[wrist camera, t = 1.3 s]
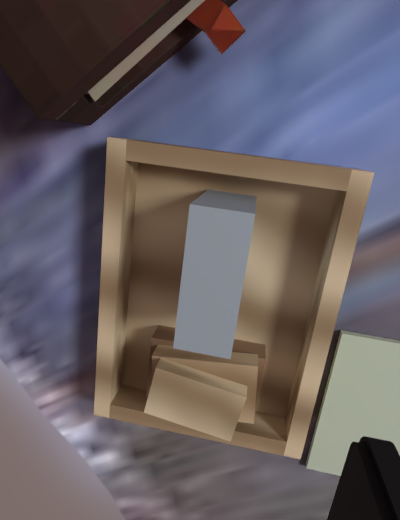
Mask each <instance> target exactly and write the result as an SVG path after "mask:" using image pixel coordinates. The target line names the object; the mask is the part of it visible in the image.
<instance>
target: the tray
mask: <svg viewBox="0 0 400 520" xmlns="http://www.w3.org/2000/svg"><path fill="white" fill-rule="evenodd" d="M373 176H374V172H369V171H365V170H359V169H352V168H344V167H337V166H329V165H322V164H314V163H307V162H299V161H292V160H284V159H277V158H269V157H262V156H254V155H247V154H239V153H232V152H224V151H217V150H209V149H201V148H194V147H186V146H179V145H171V144H164V143H156V142H149V141H141V140H134V139H126V138H114V137H107V153H106V174H105V195H104V215H103V236H102V257H101V277H100V298H99V318H98V339H97V360H96V380H95V401H94V415H98V416H102V417H107V418H112V419H116V420H121V421H126V422H130V423H135V424H139V425H144V426H149V427H153V428H158V429H162V430H167V431H172V432H176V433H181V434H186V435H190V436H195V437H199V438H204V439H209V440H213V441H218V442H222V443H227V444H232V445H236V446H241V447H246V448H250V449H255V450H259V451H264V452H269V453H273V454H278V455H283V456H287V457H292V458H296V459H301V456H302V452H303V449H304V445H305V441H306V437H307V433H308V429H309V425H310V421H311V417H312V414H313V410H314V406H315V402H316V398H317V394H318V390H319V386H320V382H321V378H322V375H323V371H324V367H325V363H326V359H327V355H328V351H329V347H330V343H331V340H332V336H333V332H334V328H335V324H336V320H337V316H338V312H339V308H340V304H341V301H342V297H343V293H344V289H345V285H346V281H347V277H348V273H349V269H350V265H351V262H352V258H353V254H354V250H355V246H356V242H357V238H358V234H359V230H360V227H361V223H362V219H363V215H364V211H365V207H366V203H367V199H368V195H369V191H370V188H371V184H372V180H373ZM208 189H210V190H217V191H224V192H231V193H238V194H245V195H252V196H257V198H256V212H255V219H254V225H253V231H252V236H251V242H250V248H249V254H248V260H247V266H246V272H245V278H244V284H243V289H242V295H241V301H240V307H239V313H238V319H237V325H236V331H235V337H234V339H238V340H243V341H248V342H254V343H259V344H264V345H265V353H266V360H265V365H264V370H263V375H262V380H261V385H260V390H259V395H258V400H257V405H256V410H255V416H254V424H252V423H243V422H238V423H237V425H236V428H235V431H234V434H233V436H232V439H231V442H230V441H227V440H224V439H221V438H218V437H215V436H212V435H209V434H206V433H203V432H200V431H197V430H194V429H191V428H188V427H185V426H182V425H179V424H176V423H173V422H170V421H168V420H165V419H162V418H159V417H156V416H153V415H150V414H147V413H144V410H145V406H146V402H147V399H148V398H147V397H146V390H147V380H148V369H149V359H150V349H151V338H152V336H153V334H154V332H155V331H156V329H157V327H158V325H162V326H168V327H173V328H175V327H176V318H177V310H178V301H179V293H180V284H181V276H182V267H183V258H184V250H185V241H186V233H187V224H188V215H189V207H190V204H191V203H192V202H193V201H194V200H196V199H197V198H198V197H199V196H201V195H202V194H203V193H204V192H206V191H207V190H208Z"/></svg>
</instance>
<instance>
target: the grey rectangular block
mask: <svg viewBox="0 0 400 520" xmlns="http://www.w3.org/2000/svg"><path fill="white" fill-rule="evenodd" d="M256 198H257V196H252V195H245V194H238V193H231V192H224V191H217V190H210V189H208V190H207V191H206V192H204V193H203V194H202V195H201V196H199V197H198V198H197V199H196V200H194V201H193V202H192V203H191V204H190V207H189V215H188V224H187V233H186V241H185V250H184V258H183V267H182V276H181V284H180V293H179V301H178V310H177V318H176V327H175V336H174V344H173V348H174V349H180V350H185V351H190V352H195V353H200V354H206V355H211V356H216V357H221V358H226V359H231V354H232V348H233V342H234V337H235V331H236V325H237V319H238V313H239V307H240V301H241V295H242V289H243V284H244V278H245V272H246V266H247V260H248V254H249V248H250V242H251V236H252V231H253V225H254V219H255V212H256Z"/></svg>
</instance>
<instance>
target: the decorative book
mask: <svg viewBox="0 0 400 520" xmlns="http://www.w3.org/2000/svg"><path fill="white" fill-rule="evenodd" d="M236 1H237V0H0V66H1V67H2V68H3V70H4V71H5V73H6V74H7V75H8V77H9V78H10V79H11V81H12V82H13V83H14V85H15V86H16V88H17V89H18V90H19V92H20V93H21V94H22V96H23V97H24V98H25V100H26V101H27V103H28V104H29V105H30V107H31V108H32V109H33V111H34V112H35V113H36V115H37V116H38V118H42V119H50V120H57V121H65V122H72V123H79V124H87V125H91V124H93V123H94V122H95V121H96V120H97V119H98V118H100V117H101V116H102V115H103V114H104V113H106V112H107V111H108V110H109V109H110V108H111V107H113V106H114V105H115V104H116V103H117V102H118V101H120V100H121V99H122V98H123V97H124V96H126V95H127V94H128V93H129V92H130V91H131V90H133V89H134V88H135V87H136V86H137V85H138V84H140V83H141V82H142V81H143V80H144V79H146V78H147V77H148V76H149V75H150V74H151V73H153V72H154V71H155V70H156V69H157V68H158V67H160V66H161V65H162V64H163V63H164V62H166V61H167V60H168V59H169V58H170V57H171V56H173V55H174V54H175V53H176V52H177V51H178V50H180V49H181V48H182V47H183V46H184V45H186V44H187V43H188V42H189V41H190V40H191V39H193V38H194V37H195V36H196V35H197V34H198V33H200V32H201V31H204V32H205V33H206V35H207V36H208V37H209V39H210V40H211V41H212V43H213V44H214V45H215V47H216V48H217V49H218V50H219V52H220V53H221V54H222V53H223V52H225V51H226V50H227V49H228V48H229V47H230V46H231V45H232V44H233V43H234V42H235V41H236V40H237V39H238V38H239V37H240V36H241V35H242V34H243V33H244V32H245V29H244V28H243V27H242V25H241V24H240V23H239V21H238V20H237V19H236V17H235V16H234V15H233V13H232V12H231V11H230V9H229V7H230V6H231V5H233V4H234V3H235V2H236Z"/></svg>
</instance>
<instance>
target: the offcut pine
mask: <svg viewBox="0 0 400 520" xmlns="http://www.w3.org/2000/svg"><path fill="white" fill-rule="evenodd" d="M246 398H247V386H246V385H242V384H239V383H236V382H233V381H230V380H227V379H224V378H221V377H218V376H215V375H212V374H209V373H206V372H203V371H200V370H196V369H193V368H190V367H187V366H184V365H181V364H178V363H175V362H172V361H169V360H166V359H163V358H160V360H159V362H158V364H157V366H156V369H155V373H154V376H153V380H152V384H151V387H150V391H149V395H148V399H147V402H146V406H145V410H144V413H147V414H150V415H153V416H156V417H159V418H162V419H165V420H168V421H170V422H173V423H176V424H179V425H182V426H185V427H188V428H191V429H194V430H197V431H200V432H203V433H206V434H209V435H212V436H215V437H218V438H221V439H224V440H227V441H230V442H231V439H232V436H233V434H234V431H235V428H236V425H237V423H238V420H239V417H240V415H241V412H242V409H243V407H244V404H245V401H246Z"/></svg>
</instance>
